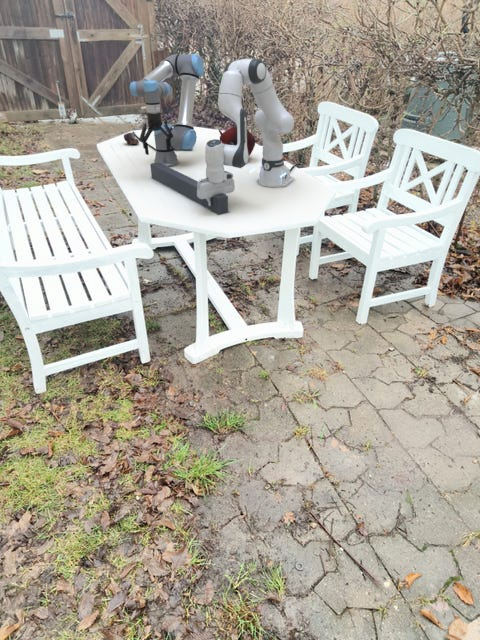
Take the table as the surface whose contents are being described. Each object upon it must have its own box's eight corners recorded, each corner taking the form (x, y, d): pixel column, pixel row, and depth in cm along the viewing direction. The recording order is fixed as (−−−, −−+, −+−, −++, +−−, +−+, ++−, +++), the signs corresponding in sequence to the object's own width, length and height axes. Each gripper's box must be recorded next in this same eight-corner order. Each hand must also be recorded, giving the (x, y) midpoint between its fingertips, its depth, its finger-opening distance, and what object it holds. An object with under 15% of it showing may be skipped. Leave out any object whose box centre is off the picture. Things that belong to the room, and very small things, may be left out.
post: (151, 177, 270) (150, 163, 265) (160, 176, 272) (158, 162, 268) (218, 214, 220) (218, 198, 215) (228, 212, 223) (227, 195, 218)
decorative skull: (216, 132, 305) (216, 129, 282) (250, 124, 304) (252, 121, 281) (223, 164, 312) (223, 164, 288) (256, 157, 311) (259, 156, 288)
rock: (136, 143, 344) (123, 145, 340) (134, 131, 341) (121, 132, 336) (140, 144, 335) (127, 145, 331) (138, 132, 331) (125, 133, 327)
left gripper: (135, 116, 237) (140, 157, 249) (177, 110, 249) (180, 150, 261) (129, 114, 243) (135, 154, 255) (170, 109, 254) (174, 148, 266)
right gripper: (200, 181, 209) (201, 210, 217) (236, 174, 219) (236, 201, 227) (193, 178, 214) (195, 206, 221) (228, 170, 223) (229, 198, 231)
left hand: (158, 152), depth 258 cm, fingers open, 13 cm apart
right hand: (216, 203), depth 224 cm, fingers closed on post, 5 cm apart
